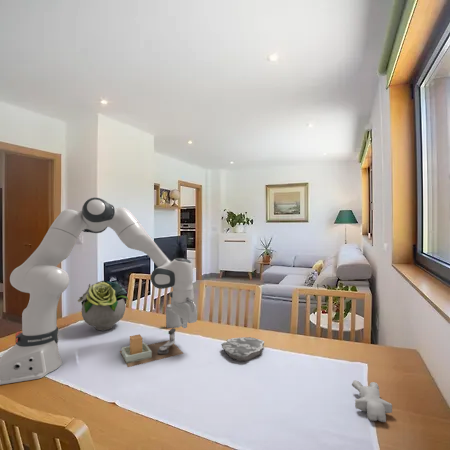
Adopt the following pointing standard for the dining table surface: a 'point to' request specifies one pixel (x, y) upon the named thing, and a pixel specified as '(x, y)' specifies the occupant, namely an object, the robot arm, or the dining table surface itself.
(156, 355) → the mechanism board
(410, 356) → the dining table surface
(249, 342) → the brain slice
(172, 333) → the crank
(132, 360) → the tray
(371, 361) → the dining table surface
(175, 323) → the can
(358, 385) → the bunny figurine
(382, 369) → the dining table surface
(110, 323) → the flower arrangement
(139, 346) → the block
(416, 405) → the dining table surface
